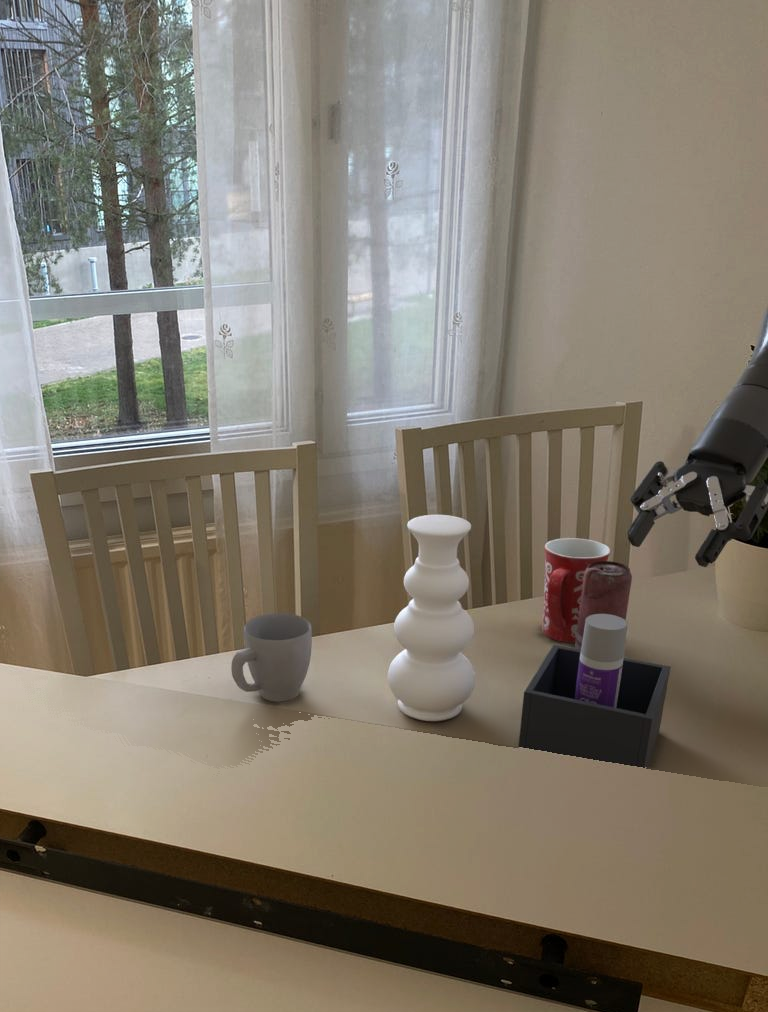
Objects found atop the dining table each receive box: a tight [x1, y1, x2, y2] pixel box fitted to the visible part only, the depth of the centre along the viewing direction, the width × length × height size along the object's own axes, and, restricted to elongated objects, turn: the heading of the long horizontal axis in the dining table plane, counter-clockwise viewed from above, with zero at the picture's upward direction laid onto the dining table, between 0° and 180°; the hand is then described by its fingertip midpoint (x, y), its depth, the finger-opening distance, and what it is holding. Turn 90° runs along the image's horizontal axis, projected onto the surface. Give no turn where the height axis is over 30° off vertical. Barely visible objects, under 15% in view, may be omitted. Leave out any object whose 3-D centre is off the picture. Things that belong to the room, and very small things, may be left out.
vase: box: [387, 514, 476, 722], centre depth 111 cm, size 11×11×25 cm
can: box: [574, 560, 633, 650], centre depth 125 cm, size 6×6×14 cm
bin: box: [518, 644, 672, 769], centre depth 106 cm, size 14×14×9 cm
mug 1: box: [230, 612, 313, 703], centre depth 118 cm, size 12×9×10 cm
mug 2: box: [542, 537, 611, 643], centre depth 132 cm, size 13×9×14 cm
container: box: [575, 614, 628, 708], centre depth 104 cm, size 5×5×15 cm
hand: (665, 552), depth 103 cm, fingers open, 8 cm apart
